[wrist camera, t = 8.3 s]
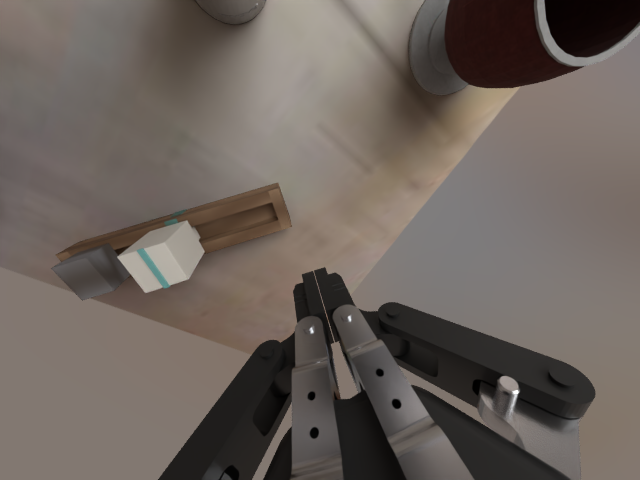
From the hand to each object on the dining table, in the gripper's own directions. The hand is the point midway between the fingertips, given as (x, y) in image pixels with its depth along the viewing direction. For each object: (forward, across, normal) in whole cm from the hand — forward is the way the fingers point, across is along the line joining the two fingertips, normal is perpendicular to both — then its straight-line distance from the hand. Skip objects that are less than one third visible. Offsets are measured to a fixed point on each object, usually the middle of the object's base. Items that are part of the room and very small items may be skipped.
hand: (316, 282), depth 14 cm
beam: (+24, +16, +2) cm, 29 cm away
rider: (+22, +17, +1) cm, 27 cm away
